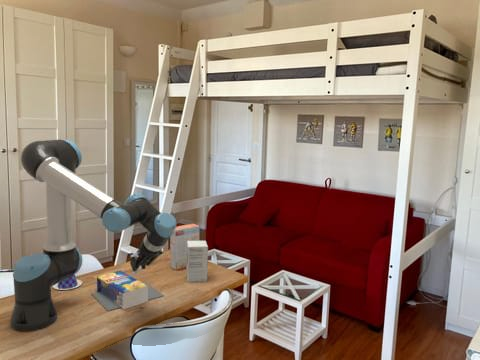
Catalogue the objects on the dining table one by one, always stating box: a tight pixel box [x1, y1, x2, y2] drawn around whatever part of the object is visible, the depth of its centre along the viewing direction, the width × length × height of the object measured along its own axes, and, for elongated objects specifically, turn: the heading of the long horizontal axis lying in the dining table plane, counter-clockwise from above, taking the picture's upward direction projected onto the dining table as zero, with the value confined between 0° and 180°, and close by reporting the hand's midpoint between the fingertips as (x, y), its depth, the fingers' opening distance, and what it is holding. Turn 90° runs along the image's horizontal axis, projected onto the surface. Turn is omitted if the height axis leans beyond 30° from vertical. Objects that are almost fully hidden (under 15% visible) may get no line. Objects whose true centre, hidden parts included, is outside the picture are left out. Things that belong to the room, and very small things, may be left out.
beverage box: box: [96, 270, 149, 310], centre depth 169 cm, size 7×11×22 cm
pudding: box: [52, 274, 83, 291], centre depth 179 cm, size 12×12×5 cm
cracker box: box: [169, 223, 200, 271], centre depth 205 cm, size 14×6×21 cm, turn 130°
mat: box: [91, 281, 165, 312], centre depth 171 cm, size 24×18×1 cm
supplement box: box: [185, 240, 209, 283], centre depth 191 cm, size 10×9×17 cm
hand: (134, 272), depth 164 cm, fingers closed
